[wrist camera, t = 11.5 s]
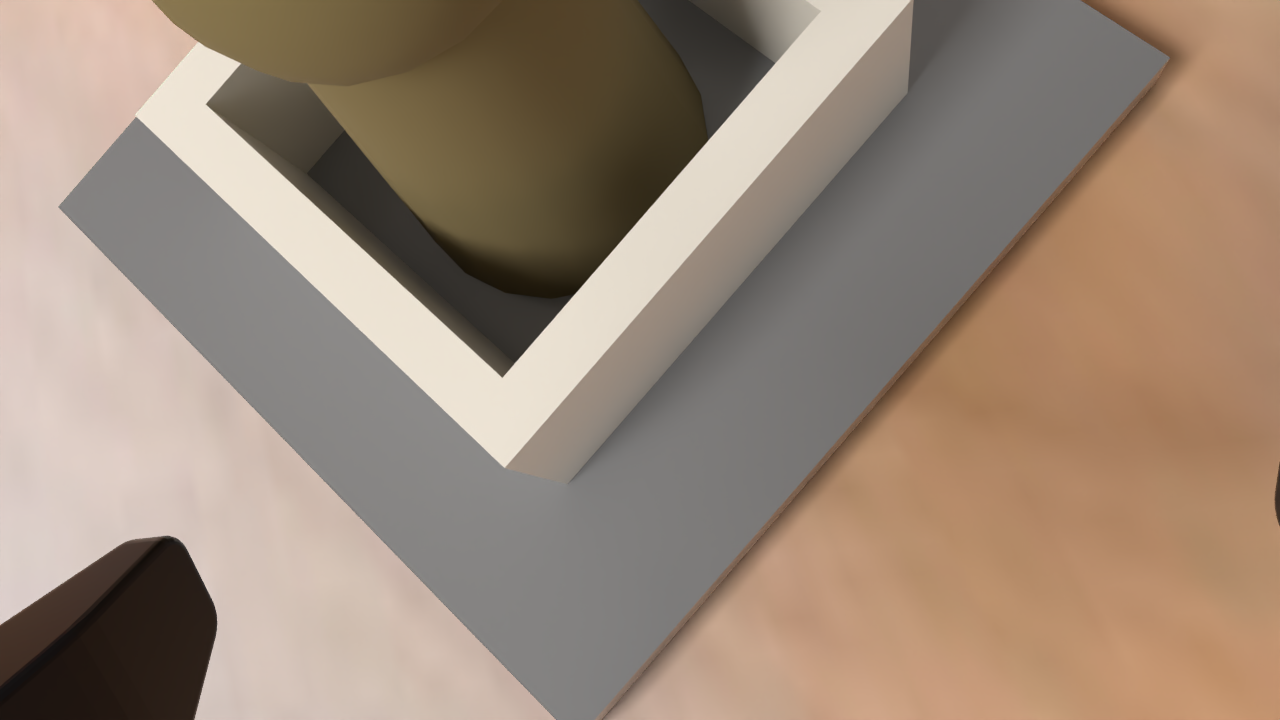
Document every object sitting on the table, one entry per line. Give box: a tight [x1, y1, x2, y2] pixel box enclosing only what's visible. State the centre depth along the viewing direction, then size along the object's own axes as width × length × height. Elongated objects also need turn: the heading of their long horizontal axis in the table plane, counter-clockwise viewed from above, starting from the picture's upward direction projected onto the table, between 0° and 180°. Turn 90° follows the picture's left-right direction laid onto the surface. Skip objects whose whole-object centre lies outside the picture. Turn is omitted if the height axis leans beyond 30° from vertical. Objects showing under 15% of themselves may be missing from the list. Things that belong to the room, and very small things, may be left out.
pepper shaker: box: [152, 0, 708, 299], centre depth 16 cm, size 6×6×11 cm
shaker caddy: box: [59, 0, 1170, 720], centre depth 20 cm, size 16×16×4 cm
